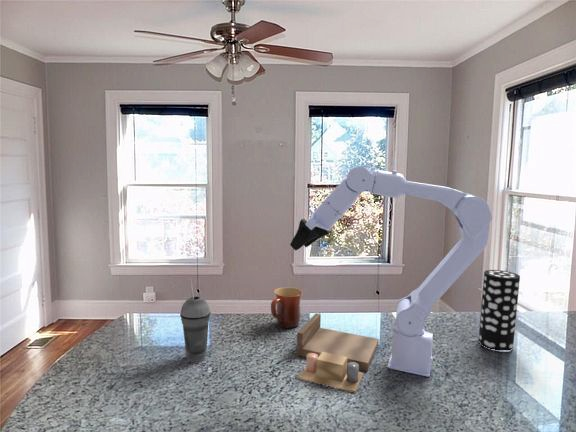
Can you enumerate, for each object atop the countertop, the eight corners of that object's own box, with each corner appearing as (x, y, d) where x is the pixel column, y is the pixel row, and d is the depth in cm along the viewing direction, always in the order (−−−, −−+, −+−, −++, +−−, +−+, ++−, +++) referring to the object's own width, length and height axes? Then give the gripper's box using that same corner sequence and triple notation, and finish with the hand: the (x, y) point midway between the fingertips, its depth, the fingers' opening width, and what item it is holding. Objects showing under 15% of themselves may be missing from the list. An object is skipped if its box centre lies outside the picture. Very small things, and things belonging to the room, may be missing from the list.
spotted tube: (504, 339, 108) (510, 270, 105) (519, 353, 99) (526, 279, 97) (473, 337, 108) (479, 269, 106) (485, 351, 100) (492, 277, 98)
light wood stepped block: (378, 345, 102) (379, 324, 102) (367, 371, 90) (368, 346, 89) (315, 333, 109) (315, 313, 109) (296, 355, 97) (297, 332, 96)
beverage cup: (203, 367, 90) (202, 285, 88) (175, 363, 92) (173, 283, 89) (215, 352, 97) (215, 276, 95) (189, 349, 99) (187, 274, 96)
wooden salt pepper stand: (363, 376, 88) (364, 356, 87) (355, 395, 81) (356, 373, 80) (310, 364, 93) (311, 345, 93) (298, 380, 86) (298, 359, 85)
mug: (285, 316, 122) (285, 285, 120) (308, 323, 116) (308, 291, 115) (260, 328, 112) (260, 295, 111) (283, 337, 107) (284, 301, 106)
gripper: (330, 196, 101) (297, 233, 105) (313, 195, 88) (276, 237, 91) (349, 214, 99) (315, 251, 103) (335, 216, 86) (296, 258, 89)
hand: (298, 246), depth 97 cm, fingers open, 7 cm apart
